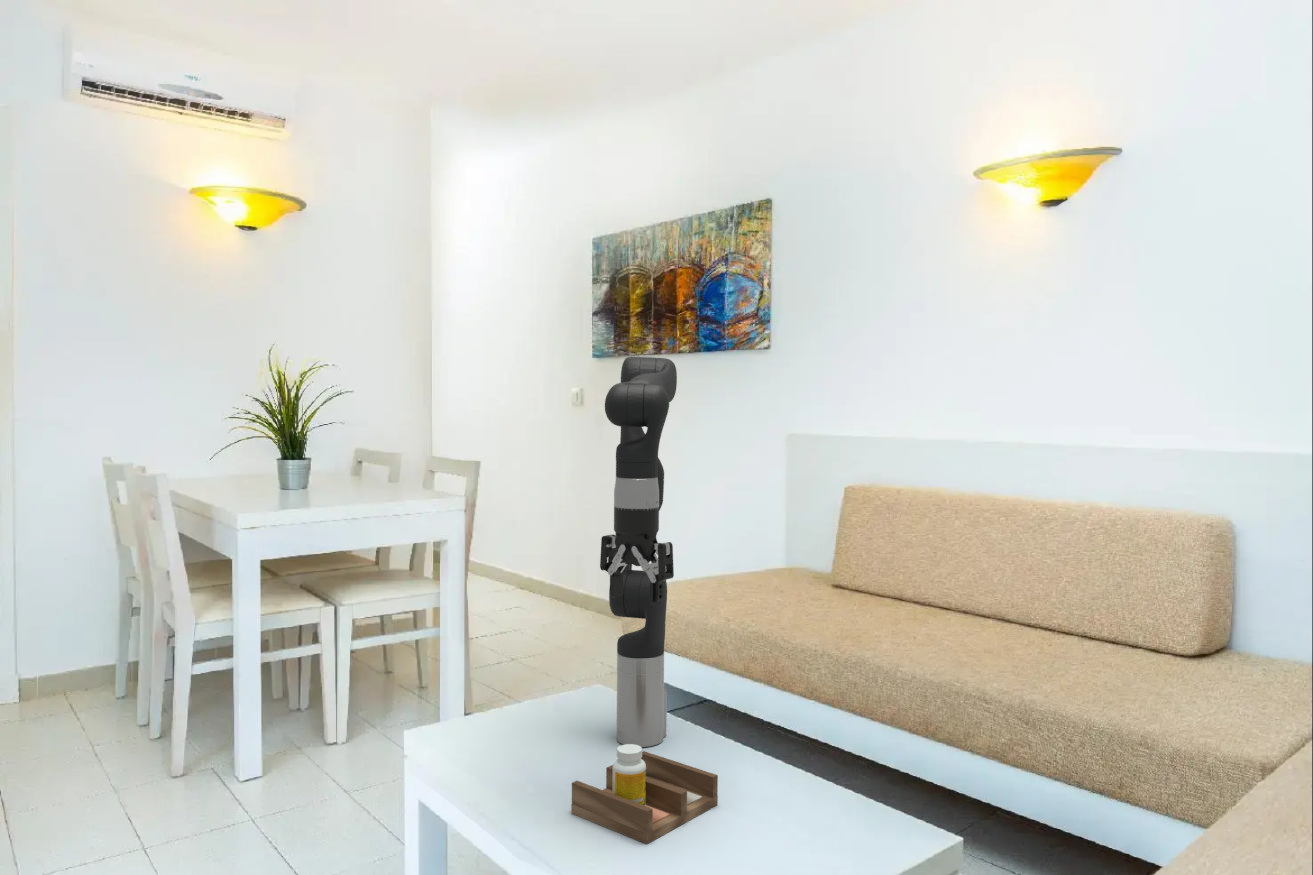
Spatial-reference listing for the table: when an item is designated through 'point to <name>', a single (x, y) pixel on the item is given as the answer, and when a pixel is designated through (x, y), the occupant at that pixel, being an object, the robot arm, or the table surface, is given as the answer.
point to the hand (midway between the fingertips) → (635, 600)
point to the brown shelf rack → (649, 800)
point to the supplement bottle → (629, 774)
